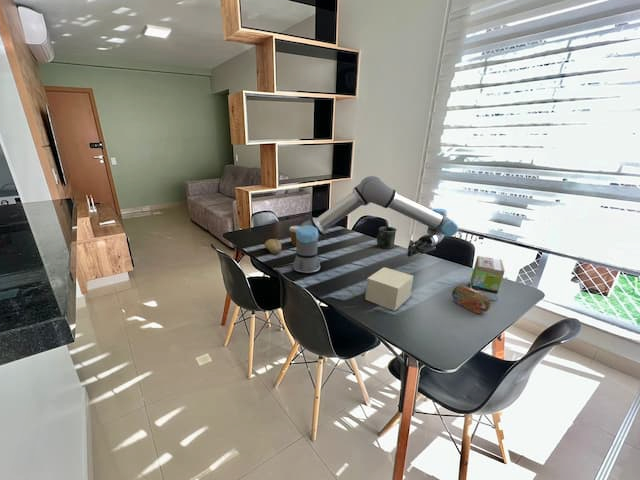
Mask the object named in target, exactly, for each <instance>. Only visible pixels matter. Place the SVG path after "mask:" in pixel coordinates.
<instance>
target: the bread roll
mask: <svg viewBox="0 0 640 480" xmlns="http://www.w3.org/2000/svg"><path fill="white" fill-rule="evenodd" d="M282 247H283V246H282V244H281V241H280V240H279V239H278V238H270V239H267V240H266V241H265V242H264V248H265V249H266V250H268V252H270V254H273V255H278V254H280V253H281V252H282Z"/></svg>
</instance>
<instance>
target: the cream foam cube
mask: <svg viewBox="0 0 640 480" xmlns="http://www.w3.org/2000/svg"><path fill="white" fill-rule="evenodd" d="M413 280H414V275H412V274H408V273H405V272H402V271H399V270H395V269H391V268H388V267H385V266H384V267H382V268H380V269H379V270H378V271H376V272H374V273H372V274H371V275H370V276H368V277H367V279H366V285H365V286H366V288H365V289H366V290H365V295H364V300H366V301H368V302H370V303H373V304H375V305H378V306H381V307H384V308H386V309H388V310H391V311H393V312H396V311H397V310H398V309H399V308H400V307H401V306H402V305H403V304H404V303H405V302H406V301H407V300H409V299H410V298H411V293H412V287H413Z"/></svg>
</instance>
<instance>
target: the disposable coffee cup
mask: <svg viewBox="0 0 640 480" xmlns="http://www.w3.org/2000/svg"><path fill="white" fill-rule="evenodd" d="M300 226H301V225H292V226H290V227H289V229H288V230H289V234H290V235H289V236H290V241H291V245H292V246H295V247H296V232H297V229H298V228H299V227H300Z"/></svg>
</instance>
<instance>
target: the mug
mask: <svg viewBox="0 0 640 480" xmlns="http://www.w3.org/2000/svg"><path fill="white" fill-rule="evenodd" d="M396 233H397V228H395V227H393V226H380V227H378V234H377V235H376V242H377V247H379V248H381V249H385V250H386V249H387V250H388V249H393V248H394V246H395V240H396Z"/></svg>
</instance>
